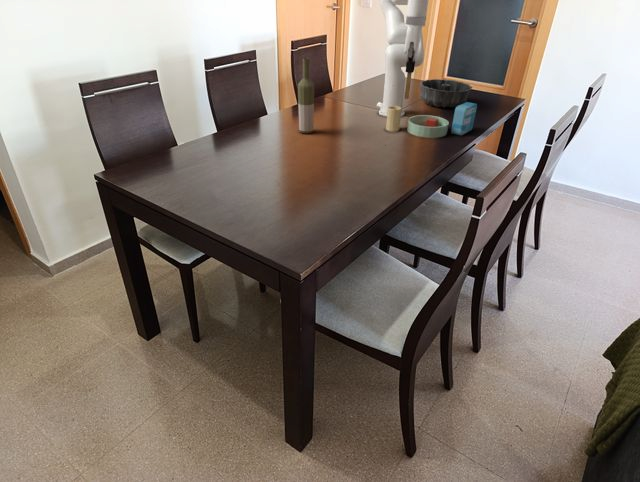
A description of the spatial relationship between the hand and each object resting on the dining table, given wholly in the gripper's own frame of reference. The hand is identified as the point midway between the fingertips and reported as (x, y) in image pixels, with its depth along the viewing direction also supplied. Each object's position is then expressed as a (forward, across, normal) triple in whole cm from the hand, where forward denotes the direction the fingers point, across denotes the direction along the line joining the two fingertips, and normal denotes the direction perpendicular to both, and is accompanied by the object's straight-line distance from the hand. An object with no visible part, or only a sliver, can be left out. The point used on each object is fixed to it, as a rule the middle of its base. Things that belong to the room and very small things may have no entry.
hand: (409, 71), depth 175 cm
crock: (+25, 0, -4) cm, 26 cm away
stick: (+11, 0, 0) cm, 11 cm away
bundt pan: (+25, -52, +15) cm, 60 cm away
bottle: (+25, +14, -40) cm, 49 cm away
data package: (+25, -7, +25) cm, 36 cm away
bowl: (+25, -2, +10) cm, 27 cm away
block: (+25, -7, +12) cm, 28 cm away
